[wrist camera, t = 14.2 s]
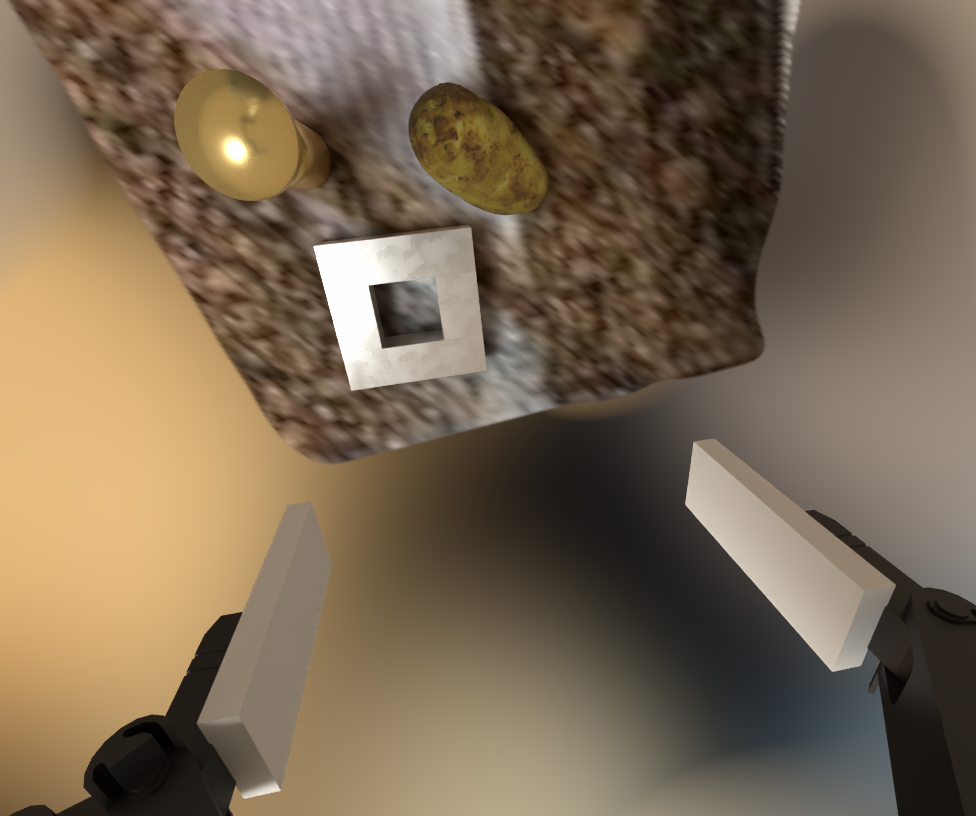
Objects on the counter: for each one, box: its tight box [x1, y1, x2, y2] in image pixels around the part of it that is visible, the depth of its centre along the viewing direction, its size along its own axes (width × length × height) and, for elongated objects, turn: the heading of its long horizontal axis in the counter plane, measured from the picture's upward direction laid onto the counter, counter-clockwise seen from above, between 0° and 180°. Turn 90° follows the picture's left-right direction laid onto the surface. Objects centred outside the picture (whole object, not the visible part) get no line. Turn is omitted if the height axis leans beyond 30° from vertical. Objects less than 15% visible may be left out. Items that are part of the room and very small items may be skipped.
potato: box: [409, 83, 549, 215], centre depth 38 cm, size 8×13×8 cm, turn 41°
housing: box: [314, 224, 487, 391], centre depth 45 cm, size 14×14×4 cm
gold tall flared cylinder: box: [174, 69, 331, 201], centre depth 32 cm, size 6×6×16 cm
